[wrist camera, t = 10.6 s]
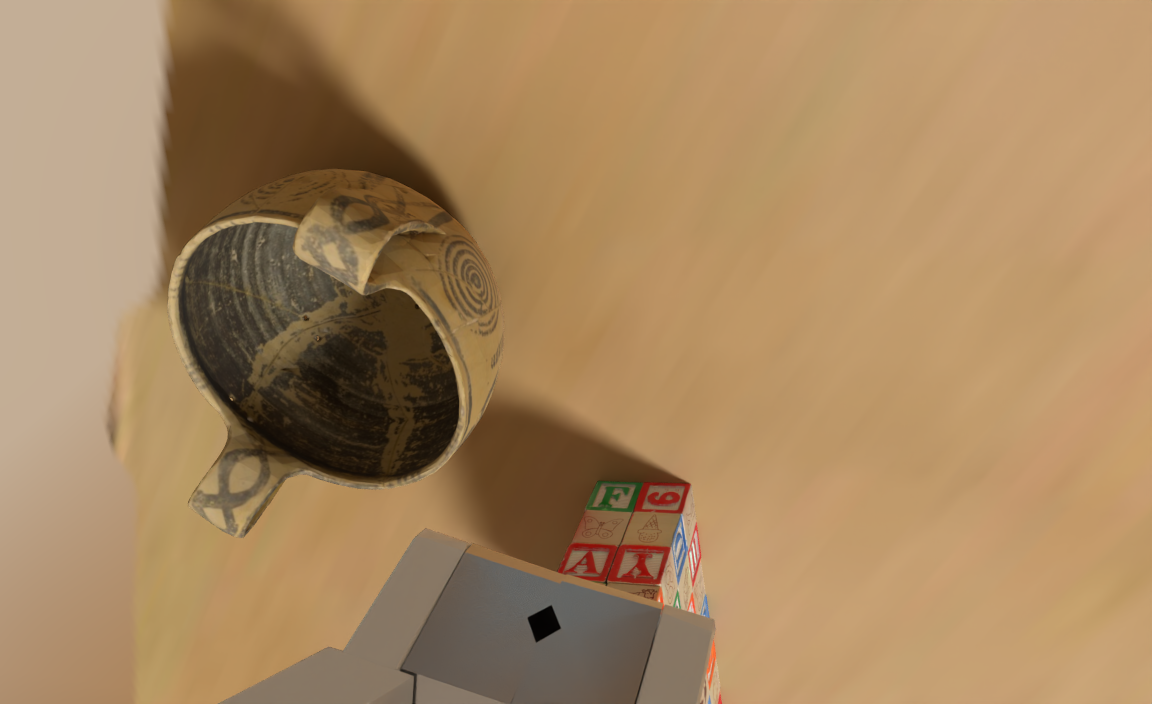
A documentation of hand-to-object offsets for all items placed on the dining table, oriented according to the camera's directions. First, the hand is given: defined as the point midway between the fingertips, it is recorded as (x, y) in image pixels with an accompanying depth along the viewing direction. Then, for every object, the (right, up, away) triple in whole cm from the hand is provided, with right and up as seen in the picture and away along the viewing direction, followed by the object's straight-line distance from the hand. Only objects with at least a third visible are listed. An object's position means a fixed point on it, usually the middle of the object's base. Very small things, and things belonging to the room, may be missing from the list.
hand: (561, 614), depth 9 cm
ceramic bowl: (-10, +8, +47) cm, 48 cm away
